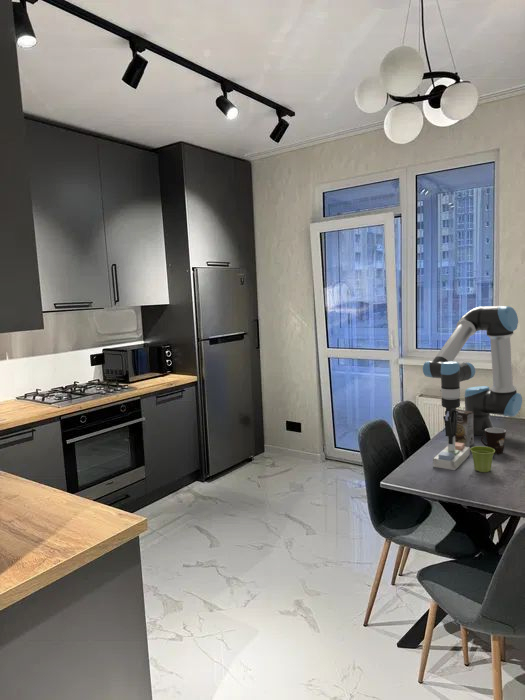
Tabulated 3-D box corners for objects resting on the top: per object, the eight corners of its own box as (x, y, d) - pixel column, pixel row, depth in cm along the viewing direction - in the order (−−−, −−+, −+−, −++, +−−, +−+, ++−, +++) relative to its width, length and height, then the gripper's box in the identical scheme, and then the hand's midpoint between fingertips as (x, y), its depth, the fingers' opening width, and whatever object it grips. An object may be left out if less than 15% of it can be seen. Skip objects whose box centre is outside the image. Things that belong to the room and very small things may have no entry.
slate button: (442, 457, 219) (442, 451, 219) (454, 459, 216) (454, 452, 216) (438, 461, 215) (438, 454, 215) (450, 463, 212) (450, 456, 212)
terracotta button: (453, 448, 231) (453, 441, 231) (464, 449, 228) (464, 443, 228) (449, 451, 227) (449, 444, 227) (461, 452, 224) (461, 446, 224)
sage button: (448, 455, 225) (447, 448, 225) (459, 456, 222) (459, 450, 222) (444, 458, 221) (444, 451, 221) (456, 460, 218) (455, 453, 218)
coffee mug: (502, 448, 233) (501, 427, 232) (509, 454, 225) (508, 432, 224) (475, 449, 234) (475, 428, 233) (481, 455, 226) (481, 433, 225)
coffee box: (449, 443, 245) (448, 411, 243) (456, 440, 249) (455, 408, 247) (467, 447, 238) (466, 413, 236) (474, 444, 242) (473, 411, 240)
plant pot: (492, 466, 212) (492, 446, 211) (497, 474, 203) (497, 453, 202) (468, 465, 214) (468, 446, 213) (472, 473, 205) (472, 453, 204)
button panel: (449, 451, 233) (449, 444, 233) (469, 454, 228) (469, 447, 227) (433, 466, 216) (433, 458, 216) (454, 470, 211) (454, 462, 210)
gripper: (446, 394, 226) (447, 445, 229) (436, 400, 216) (438, 453, 219) (464, 395, 222) (464, 447, 224) (454, 401, 211) (455, 456, 214)
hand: (451, 450), depth 221 cm, fingers closed
